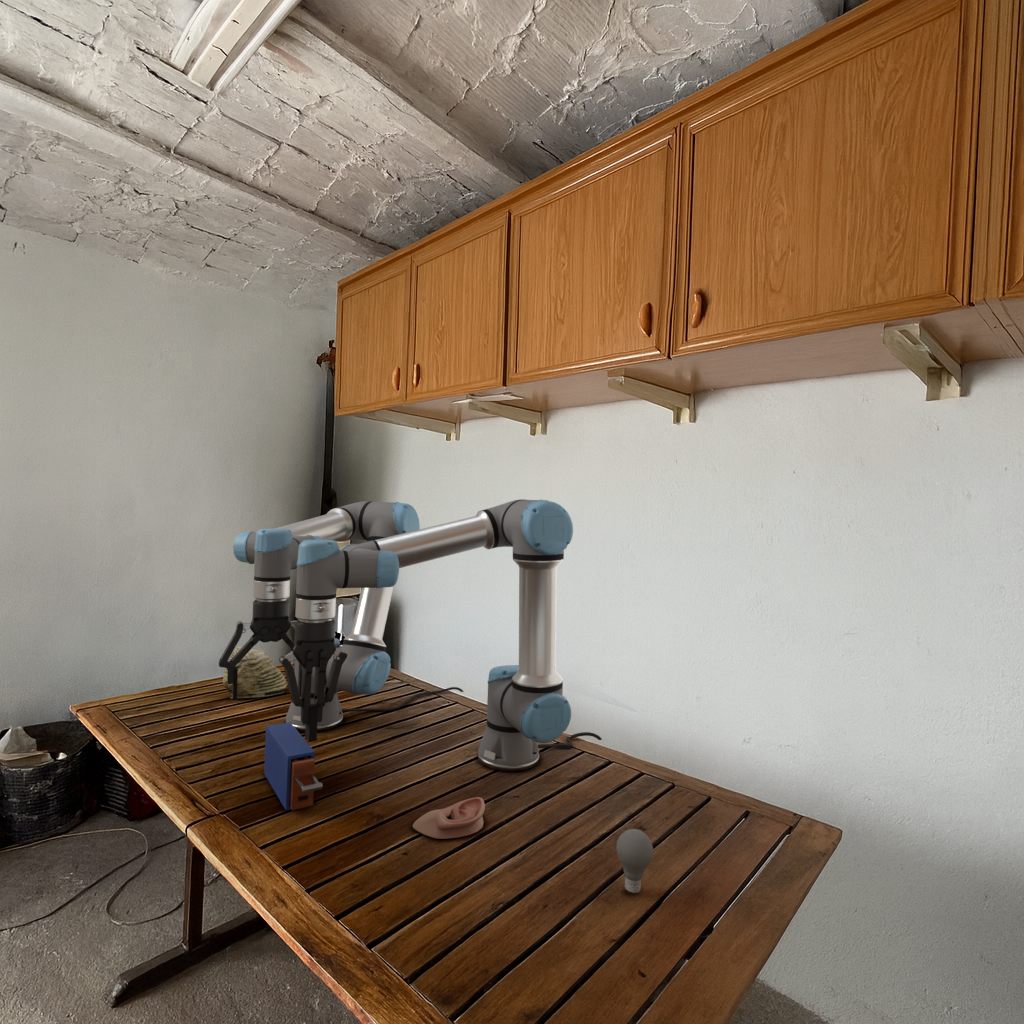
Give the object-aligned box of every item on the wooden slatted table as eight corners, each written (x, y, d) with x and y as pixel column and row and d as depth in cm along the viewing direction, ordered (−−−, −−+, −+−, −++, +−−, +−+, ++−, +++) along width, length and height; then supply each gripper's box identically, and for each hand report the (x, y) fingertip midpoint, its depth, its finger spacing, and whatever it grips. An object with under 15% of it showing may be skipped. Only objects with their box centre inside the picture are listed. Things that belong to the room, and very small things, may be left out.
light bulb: (610, 879, 108) (613, 822, 108) (644, 879, 109) (647, 822, 109) (619, 902, 102) (622, 840, 102) (655, 901, 103) (658, 840, 103)
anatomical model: (407, 813, 120) (427, 787, 131) (406, 834, 120) (426, 806, 131) (475, 823, 117) (489, 796, 129) (474, 845, 117) (488, 815, 129)
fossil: (218, 695, 195) (220, 647, 195) (278, 685, 208) (279, 640, 207) (228, 703, 189) (230, 653, 188) (289, 692, 201) (290, 645, 201)
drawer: (322, 818, 123) (324, 771, 123) (300, 824, 121) (302, 776, 121) (289, 771, 143) (291, 730, 143) (270, 775, 141) (271, 733, 141)
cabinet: (312, 804, 130) (314, 751, 130) (285, 810, 127) (287, 756, 127) (288, 769, 146) (290, 721, 146) (264, 773, 143) (265, 725, 143)
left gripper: (208, 604, 130) (205, 706, 130) (332, 599, 141) (329, 694, 142) (208, 598, 137) (205, 695, 137) (326, 594, 148) (323, 684, 148)
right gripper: (285, 625, 117) (281, 752, 117) (354, 620, 124) (349, 739, 124) (276, 617, 123) (271, 738, 123) (341, 613, 130) (337, 727, 131)
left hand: (268, 695), depth 139 cm, fingers open, 13 cm apart
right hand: (310, 739), depth 124 cm, fingers closed
